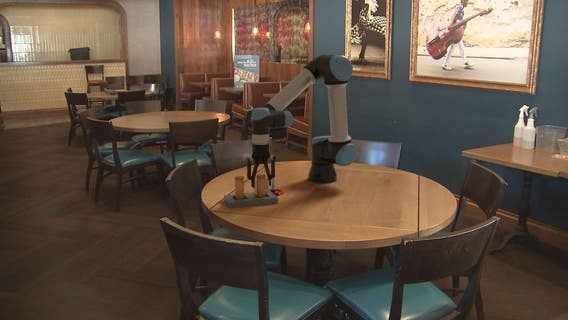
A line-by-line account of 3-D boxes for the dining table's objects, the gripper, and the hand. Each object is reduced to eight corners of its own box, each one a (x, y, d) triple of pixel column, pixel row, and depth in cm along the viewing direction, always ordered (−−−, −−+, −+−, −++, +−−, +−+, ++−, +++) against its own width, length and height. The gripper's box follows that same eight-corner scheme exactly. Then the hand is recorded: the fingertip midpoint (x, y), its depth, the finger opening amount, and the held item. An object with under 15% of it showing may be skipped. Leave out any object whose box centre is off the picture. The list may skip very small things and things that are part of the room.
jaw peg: (265, 199, 224) (265, 174, 222) (266, 202, 220) (265, 176, 218) (256, 199, 224) (256, 174, 221) (257, 202, 220) (256, 176, 217)
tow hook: (269, 190, 240) (263, 194, 232) (270, 164, 238) (264, 168, 229) (286, 191, 238) (280, 196, 229) (286, 165, 236) (281, 169, 227)
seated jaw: (243, 201, 222) (242, 175, 219) (245, 203, 218) (244, 177, 215) (234, 202, 220) (233, 176, 218) (236, 204, 217) (235, 178, 214)
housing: (270, 195, 230) (270, 190, 229) (278, 203, 219) (278, 197, 218) (224, 200, 223) (223, 195, 222) (229, 208, 212) (229, 202, 211)
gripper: (277, 140, 223) (277, 189, 228) (238, 142, 217) (239, 193, 222) (282, 143, 216) (282, 194, 221) (242, 145, 210) (243, 197, 215)
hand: (261, 193), depth 221 cm, fingers open, 5 cm apart
